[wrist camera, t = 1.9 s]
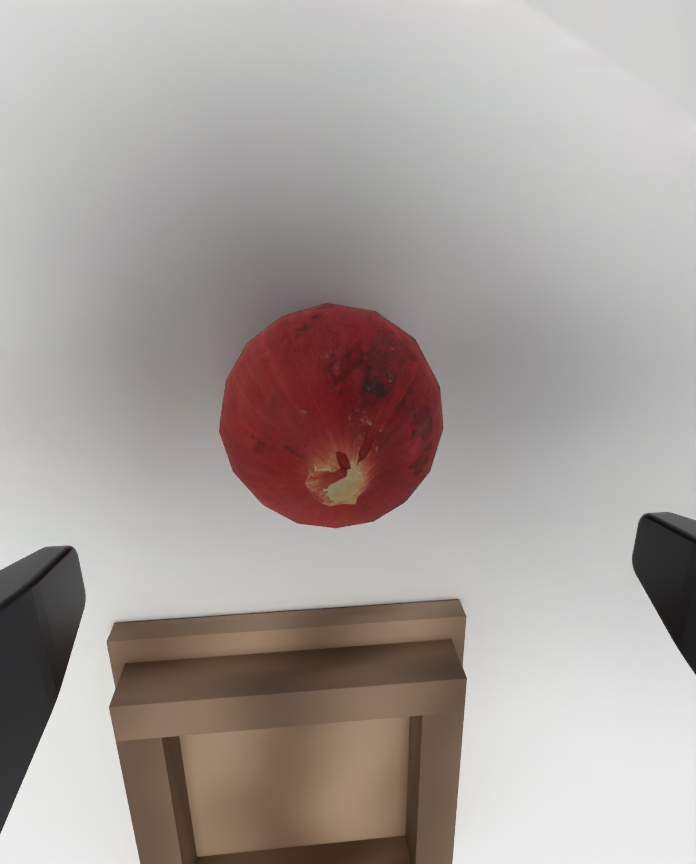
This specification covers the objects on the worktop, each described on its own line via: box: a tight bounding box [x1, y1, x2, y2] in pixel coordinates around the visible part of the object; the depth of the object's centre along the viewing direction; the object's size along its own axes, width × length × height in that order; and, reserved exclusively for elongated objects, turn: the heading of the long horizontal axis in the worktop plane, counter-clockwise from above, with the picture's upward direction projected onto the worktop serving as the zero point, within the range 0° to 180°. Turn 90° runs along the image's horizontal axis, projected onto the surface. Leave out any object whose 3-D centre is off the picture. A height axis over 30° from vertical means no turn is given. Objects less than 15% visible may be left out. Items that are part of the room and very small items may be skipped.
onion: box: [219, 303, 443, 528], centre depth 15 cm, size 6×6×8 cm
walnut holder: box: [107, 600, 467, 864], centre depth 23 cm, size 13×14×3 cm
